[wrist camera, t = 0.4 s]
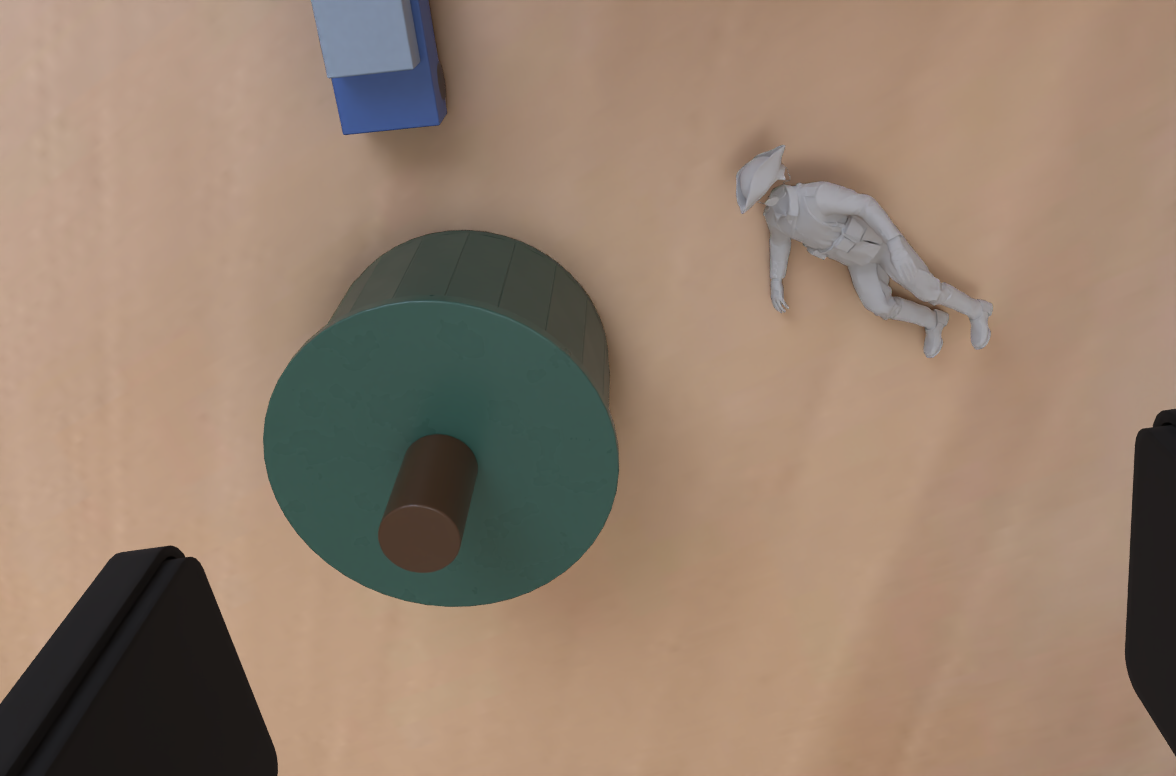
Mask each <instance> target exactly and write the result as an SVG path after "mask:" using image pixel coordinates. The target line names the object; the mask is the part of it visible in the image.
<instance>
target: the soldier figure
mask: <svg viewBox="0 0 1176 776" xmlns="http://www.w3.org/2000/svg"><path fill="white" fill-rule="evenodd" d="M784 149H785V145H780V146H778V147H776V148H775V149H773V150H770V151H767V152H764V153H761V154H759V155H757V156H755V157H754V158H753V159H752V160H751V161H750V162H748V163H747V164H745V165H744V166H743V167H742V168H741V169H740V170H739V171H738V173H737V175H736V182H737V185H736V197H737V202H738V205H739V207H740V210H741V213H742V214H743V213H745V212H746V211H747V210H748V209H750V208H751V207H752V206H753V205H754V204H755V202H757V201H758V200H759V199H761V198H762V197H763V196H764V195H765V193H766V192H767V191H768V189H769V188H770V187H771V186H772V184H773V183H774V182H776V181H777V180H785V176H784V172H785V168H786V167H785V166H784V165H783V164H782V163H781V159H782V155H783V152H784ZM787 170H788V169H787ZM789 176H790V175H789ZM789 181H790V180H789ZM784 182H785V181H784ZM768 197H769V196H768ZM759 203H761V202H759ZM762 204H765V205H767V206H766V207H765V209H764V212H763V215H765V219H766V222H767V225H768V228H769V230H770V240H769V242H770V278H772V281H771V299H772V303H773V306H774V308H775V309H776V310H777V311H779V312H780V313H782V311H783V312H786V311H785V309H784V308H783V307H782V304H783V305H784V306H785V307H786V308H787V309H789V307H788V305H787V304H786V303H785V301H784V295H783V284H782V278H784V277H785V275H786V269H787V264H788V257H789V253H790V250H791V239H795V240H797V241H799V242H802V243H803V245H804V246H805V247H807V251H808V252H810V253H811V254H812V255H814V256H816V257H818V258H821V259H823V260H824V259H825V258H826V257H827V256H828V257H829V258H830V259H834V260H836V261H838V262H840V263H842V264H843V265H847V266H848V269H849V272H850V275H851V278H852V282H853V286H854V288H855V290H856V292H857V294H858V296H859V298H860V300H861V302H862V304H863V305H864V307H865V308H866V309H867V310H869V311H871V312H873V313H874V314H875V315H877V316H880V317H881V318H883V319H884V320H887V319H888V318H890V319H893V320H899V321H905V322H910V323H914V324H918V325H920V326H923V327H925V331H926V337H925V342H924V354H925V355H926V357H927V358H933V357H935V356H936V355H937V354H938V353H939V351H940V350H941V348H942V345H943V340H942V337H941V333H942V329H943V327H944V326H946V325H947V323H948V320H949V314H948V313H946V312H943V311H941V310H937V309H934V310H931V309H930V308H928V307H926V306H924V305H920V304H917V303H915V302H913V301H910V300H906V299H903V298H901V297H892V296H891V293H892V289H891V288H890V287H889V286H888V284H889V279H890V278H889V276H890V277H891V278H892V279H893V280H894V281H895V282H897V283H898V284H900V285H901V286H903V287H904V288H905V289H907V290H909V291H910V292H911V293H912V294H913V295H914V296H916V297H917V298H918V299H920V300H921V301H923V302H929V303H930V304H931V305H938V304H941V305H943V306H946V307H949V308H952V309H954V310H956V311H958V312H960V313H963V314H965V315H967V316H968V317H969V320H970V322H971V343H972V345H973V347H974V348H975V349H982V348H984V347H985V346H986V345H987V343H988V341H989V339H990V336H991V331H990V329H989V328H988V317H989V316H991V314H992V311H993V305H992V304H991V303H990V302H987V301H985V300H980V299H977V300H976V299H973V298H971V297H970V296H968V295H967V294H965V293H964V292H962V291H959V290H958V289H956V288H955V287H953V286H952V285H950V284H947V283H945V282H943V283H940V280H939V279H937V278H935V277H934V276H933V274H932V273H930V272H929V269H928V267H927V266H926V264H925V263H924V261H923V260H922V259H921V258H920V257H919V256H918V254H917V253H916V252H915V250H914V249H913V248H912V247H911V246H910V245H909V243H908V242H907V240H906V239H905V238H904V237H903V235H902V234H901V232H900V231H899V230H898V228H897V227H896V226H895V225H894V223H893V222H892V221H891V219H890V218H889V216H888V215H887V214H886V212H885V211H884V210H883V209H882V207H881V206H880V205H879V203H878V202H877V201H876V200H875V199H874V198H873V197H871V196H870V195H866V194H859V193H857V192H856V191H854V190H852V189H849V188H845V187H844V186H840V185H837V184H833V183H830V182H825V181H819V182H812V183H807V184H803V183H797V184H796V186H790V185H780V186H778V187H776V188H774V189H773V190H772V191H771V194H770V197H769V200H767V201H766V202H765V203H762ZM781 302H782V304H781Z"/></svg>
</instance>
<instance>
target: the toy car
mask: <svg viewBox="0 0 1176 776" xmlns="http://www.w3.org/2000/svg"><path fill="white" fill-rule="evenodd" d="M311 3H312V7H313V12H314V17H315V21H316V26H317V31H318V35H319V40H320V45H321V49H322V54H323V59H324V63H325V68H326V73H327V77H328V78H331V79H332V84H333V89H334V93H335V98H336V103H337V107H338V112H339V117H340V121H341V126H342V131H343V134H344V135H350V134H360V133H369V132H379V131H388V130H398V129H408V128H417V127H427V126H437V125H440V123H441V122H442V120H443V119H444V117H445V116H446V114H447V108H446V102H445V97H446V89H445V80H444V74H443V70H442V66H441V64H440V62H439V61H438V55H437V49H436V43H435V37H434V31H433V25H432V19H431V13H430V7H429V1H428V0H311Z"/></svg>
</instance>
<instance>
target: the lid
mask: <svg viewBox="0 0 1176 776" xmlns="http://www.w3.org/2000/svg"><path fill="white" fill-rule="evenodd" d="M263 445H264V459H265V464H266V469H267V474H268V478H269V481H270V484H271V487H272V490H273V492H274V495H275V498H276V500H277V502H278V504H279V506H280V507H281V509H282V511H283V513H284V515H285V517H286V518H287V520H288V521H289V522H290V524H291V525H292V527H293V528H294V530H295V531H296V532H297V534H298V535H299V536H300V537H301V538H302V539H303V540H304V542H305V543H306V544H307V545H308V546H309V547H310V548H311V549H312V550H313V551H314V552H315V553H316V554H317V555H319V556H320V557H321V558H322V559H323V560H324V561H325V562H327V563H328V564H329V565H331V566H332V567H334V568H335V569H336V570H338V571H339V572H341V573H342V574H344V575H345V576H347V577H349V578H350V579H352V580H354V581H356V582H358V583H360V584H361V585H363V586H365V587H368V588H370V589H372V590H375V591H377V592H380V593H382V594H385V595H388V596H391V597H394V598H398V599H401V600H404V601H409V602H414V603H420V604H425V605H434V606H445V607H460V606H476V605H484V604H491V603H496V602H500V601H504V600H508V599H512V598H515V597H517V596H520V595H523V594H526V593H529V592H531V591H533V590H535V589H537V588H539V587H541V586H543V585H545V584H547V583H549V582H550V581H552V580H553V579H555V578H556V577H558V576H559V575H561V574H562V573H564V572H565V571H566V570H567V569H568V568H570V567H571V566H572V565H573V564H574V563H575V562H576V561H578V560H579V559H580V558H581V557H582V555H583V554H584V553H585V552H586V551H587V550H588V549H589V547H590V546H591V545H592V544H593V543H594V541H595V539H596V538H597V536H598V535H599V533H600V532H601V530H602V529H603V527H604V525H605V522H606V520H607V518H608V516H609V514H610V511H611V509H612V505H613V502H614V498H615V495H616V491H617V483H618V475H619V450H618V440H617V435H616V430H615V424H614V422H613V419H612V416H611V413H610V410H609V407H608V404H607V402H606V400H605V398H604V397H603V395H602V393H601V391H600V389H599V387H598V385H597V384H596V382H595V381H594V379H593V378H592V376H591V375H590V374H589V372H588V371H587V369H586V368H585V367H584V365H583V364H582V363H581V362H580V361H579V360H578V359H577V358H576V357H575V356H574V355H573V354H572V352H571V351H570V350H569V349H567V348H566V347H565V346H564V345H563V344H562V343H560V342H559V341H558V340H557V339H556V338H554V337H553V336H552V335H551V334H549V333H548V332H546V331H545V330H543V329H541V328H540V327H538V326H537V325H535V324H534V323H532V322H531V321H529V320H527V319H525V318H522V317H520V316H518V315H516V314H514V313H512V312H510V311H508V310H505V309H502V308H499V307H496V306H493V305H491V304H488V303H485V302H480V301H476V300H471V299H466V298H462V297H452V296H442V295H416V296H405V297H399V298H392V299H386V300H383V301H379V302H376V303H372V304H369V305H366V306H363V307H360V308H358V309H356V310H354V311H351V312H349V313H347V314H345V315H342V316H341V317H339V318H338V319H336V320H334V321H333V322H331V323H330V324H328V325H326V326H325V327H323V328H322V329H321V330H320V331H318V332H317V333H316V334H315V335H314V336H313V337H311V338H310V339H309V340H308V341H307V342H306V343H305V344H304V345H303V346H302V347H301V348H300V350H299V351H298V352H297V353H296V354H295V355H294V356H293V358H292V359H291V361H290V362H289V364H288V366H287V367H286V369H285V370H284V372H283V373H282V375H281V377H280V378H279V380H278V382H277V384H276V386H275V389H274V391H273V393H272V396H271V398H270V401H269V405H268V409H267V413H266V417H265V424H264V435H263Z"/></svg>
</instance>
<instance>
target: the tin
mask: <svg viewBox="0 0 1176 776" xmlns="http://www.w3.org/2000/svg"><path fill="white" fill-rule="evenodd" d="M416 295H442V296H452V297H462V298H466V299H471V300H476V301H480V302H485V303H488V304H491V305H493V306H496V307H499V308H502V309H505V310H508V311H510V312H512V313H514V314H516V315H518V316H520V317H522V318H525V319H527V320H529V321H531V322H532V323H534V324H535V325H537V326H538V327H540V328H541V329H543V330H545V331H546V332H548V333H549V334H551V335H552V336H553V337H554V338H556V339H557V340H558V341H559V342H560V343H562V344H563V345H564V346H565V347H566V348H567V349H569V350H570V351H571V352H572V354H573V355H574V356H575V357H576V358H577V359H578V360H579V361H580V362H581V363H582V364H583V365H584V367H585V368H586V369H587V371H588V372H589V374H590V375H591V376H592V378H593V379H594V381H595V382H596V384H597V385H598V387H599V389H600V391H601V393H602V395H603V397H604V398H605V400H606V402H607V404H608V407H609V388H610V370H609V361H608V347H607V342H606V336H605V332H604V329H603V326H602V323H601V320H600V317H599V315H598V313H597V311H596V309H595V307H594V305H593V303H592V301H591V300H590V298H589V297H588V295H587V294H586V292H585V291H584V290H583V288H582V287H581V286H580V284H579V283H578V282H577V281H576V280H575V279H574V278H573V277H572V275H571V274H570V273H569V272H567V271H566V270H565V269H564V268H563V267H562V266H560V265H559V264H558V263H557V262H556V261H554V260H553V259H551V258H550V257H548V256H547V255H545V254H544V253H542V252H541V251H539V250H537V249H535V248H533V247H531V246H529V245H527V244H525V243H523V242H520V241H517V240H515V239H512V238H509V237H506V236H502V235H498V234H493V233H489V232H481V231H470V230H459V231H444V232H438V233H432V234H428V235H424V236H421V237H418V238H414V239H411V240H409V241H407V242H405V243H403V244H400V245H398V246H396V247H394V248H393V249H391V250H390V251H388V252H386V253H385V254H383V255H382V256H380V257H379V258H378V259H377V260H376V261H375V262H373V263H372V264H371V265H370V266H369V267H368V268H367V269H366V270H365V271H364V272H363V273H362V274H361V276H360V277H359V278H358V279H356V280H355V281H354V282H353V284H352V285H351V287H350V288H349V290H348V292H347V293H346V295H345V296H344V298H343V300H342V301H341V303H340V305H339V306H338V308H337V309H336V311H335V313H334V314H333V316H332V318H331V319H330V321H329V322H328V324H330V323H331V322H333V321H334V320H336V319H338V318H339V317H341V316H342V315H345V314H347V313H349V312H351V311H354V310H356V309H358V308H360V307H363V306H366V305H369V304H372V303H376V302H379V301H383V300H386V299H392V298H399V297H405V296H416ZM328 324H327V325H328Z"/></svg>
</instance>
